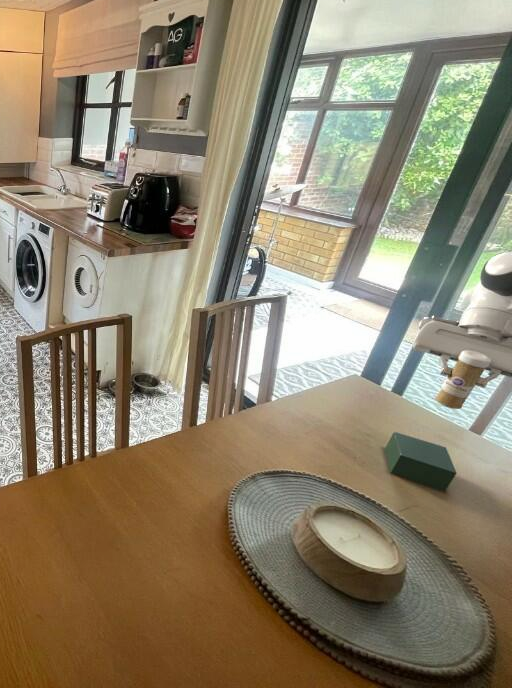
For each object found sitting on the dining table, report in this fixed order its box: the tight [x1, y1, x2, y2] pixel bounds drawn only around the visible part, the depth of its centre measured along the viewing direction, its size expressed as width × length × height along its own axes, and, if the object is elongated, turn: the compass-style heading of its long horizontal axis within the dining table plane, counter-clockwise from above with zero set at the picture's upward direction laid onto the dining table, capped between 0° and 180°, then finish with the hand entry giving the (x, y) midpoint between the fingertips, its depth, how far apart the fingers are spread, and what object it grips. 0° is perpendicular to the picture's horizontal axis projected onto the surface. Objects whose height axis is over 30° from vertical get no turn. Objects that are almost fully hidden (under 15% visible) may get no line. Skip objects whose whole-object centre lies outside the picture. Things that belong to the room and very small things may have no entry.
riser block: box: [384, 431, 457, 492], centre depth 93 cm, size 9×9×6 cm
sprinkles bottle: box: [434, 350, 491, 410], centre depth 93 cm, size 5×5×14 cm
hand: (462, 380), depth 92 cm, fingers closed on sprinkles bottle, 4 cm apart
